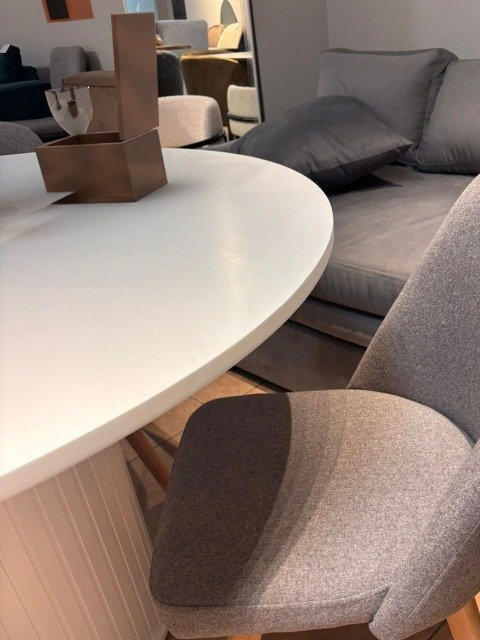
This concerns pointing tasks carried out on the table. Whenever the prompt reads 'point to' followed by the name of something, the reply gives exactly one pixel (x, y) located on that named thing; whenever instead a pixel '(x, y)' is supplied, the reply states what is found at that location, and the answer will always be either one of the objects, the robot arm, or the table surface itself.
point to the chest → (102, 167)
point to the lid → (135, 72)
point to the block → (73, 10)
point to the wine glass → (71, 108)
